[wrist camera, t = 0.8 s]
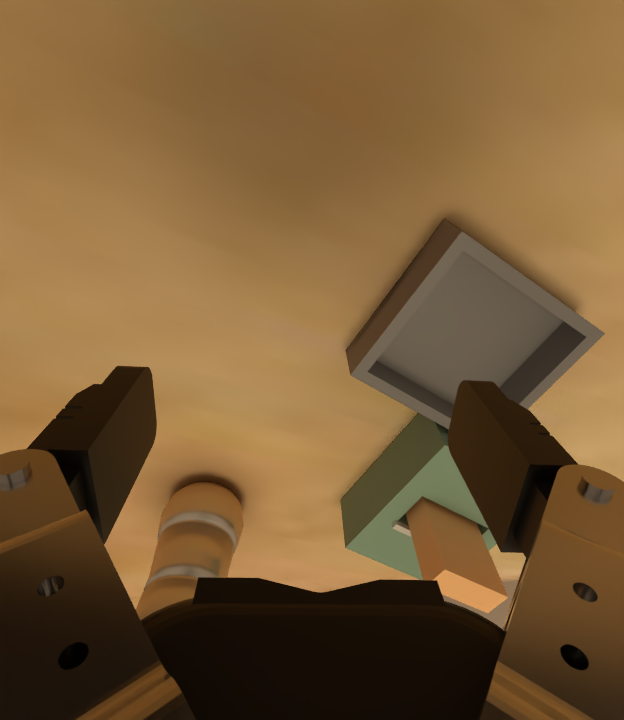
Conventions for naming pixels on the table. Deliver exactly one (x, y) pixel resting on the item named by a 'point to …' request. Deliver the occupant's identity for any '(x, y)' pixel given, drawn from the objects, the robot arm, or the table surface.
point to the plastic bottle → (192, 544)
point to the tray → (466, 330)
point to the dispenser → (405, 496)
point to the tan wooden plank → (454, 555)
